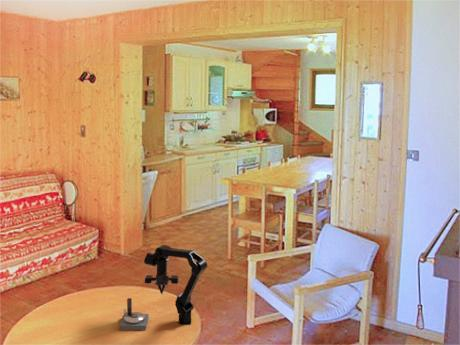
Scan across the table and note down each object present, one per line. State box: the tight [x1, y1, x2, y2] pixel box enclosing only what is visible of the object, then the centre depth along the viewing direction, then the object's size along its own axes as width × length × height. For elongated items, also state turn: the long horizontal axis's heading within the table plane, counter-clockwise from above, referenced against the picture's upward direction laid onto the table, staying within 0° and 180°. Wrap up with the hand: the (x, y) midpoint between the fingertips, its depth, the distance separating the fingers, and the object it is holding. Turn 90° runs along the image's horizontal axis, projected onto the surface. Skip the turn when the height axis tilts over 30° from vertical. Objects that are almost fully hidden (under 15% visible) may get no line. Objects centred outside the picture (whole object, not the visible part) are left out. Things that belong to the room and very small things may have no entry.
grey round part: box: [124, 297, 145, 324], centre depth 275 cm, size 11×13×10 cm
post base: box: [118, 308, 150, 331], centre depth 275 cm, size 14×14×6 cm
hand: (161, 293), depth 285 cm, fingers closed
